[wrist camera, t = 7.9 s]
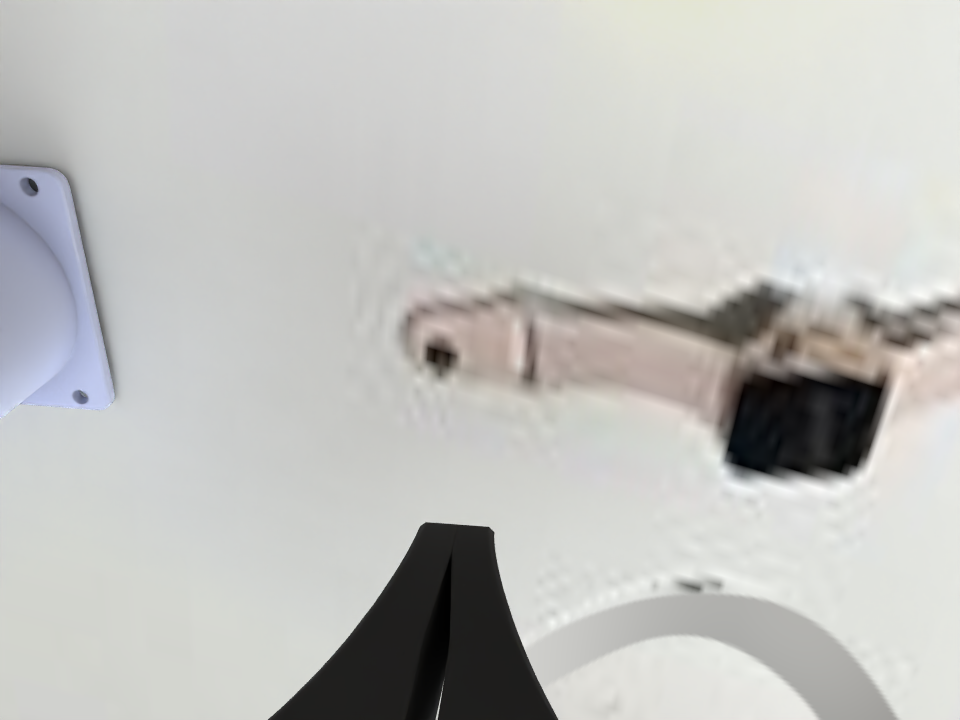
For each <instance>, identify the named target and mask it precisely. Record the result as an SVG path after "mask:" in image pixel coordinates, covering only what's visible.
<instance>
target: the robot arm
mask: <svg viewBox="0 0 960 720" xmlns="http://www.w3.org/2000/svg"><path fill="white" fill-rule="evenodd" d="M29 178H30V179H32V180H33V181H34V182H36V184H37V186H38V192H36V191H34V190H33V189H32V188H31V187H30V185H29ZM79 390H80V391H83V392H84V393H85V394H86V395H87V397H88V398H87V397H84V396H83V395H82V394H81V393H80V391H79ZM114 399H115V392H114V388H113V383H112V378H111V374H110V369H109V364H108V360H107V355H106V351H105V346H104V341H103V337H102V332H101V328H100V323H99V318H98V314H97V309H96V304H95V300H94V295H93V291H92V286H91V281H90V277H89V272H88V267H87V263H86V258H85V254H84V249H83V244H82V240H81V235H80V231H79V226H78V221H77V217H76V212H75V207H74V203H73V198H72V194H71V189H70V185H69V183H68V180H67V179H66V177H65V176H64V175H63V174H62V173H61V172H59V171H58V170H56V169H52V168H46V167H30V166H14V165H0V419H1V418H3V417H4V416H5V415H6V414H7V413H9V412H10V411H11V410H12V409H14V408H15V407H16V406H17V405H19V404H26V405H38V406H51V407H64V408H77V409H90V410H104V409H106V408H108V407H109V406H110V405H111V404H112V403H113V401H114ZM443 682H444V685H443ZM442 687H443V691H442ZM441 692H442V697H441V703H440V709H439V715H438V720H558V718H557V716H556V714H555V713H554V711H553V709H552V707H551V705H550V703H549V701H548V699H547V697H546V695H545V694H544V691H543V689H542V687H541V685H540V683H539V681H538V680H537V677H536V675H535V673H534V671H533V668H532V666H531V664H530V662H529V659H528V657H527V655H526V652H525V650H524V647H523V645H522V642H521V640H520V637H519V635H518V632H517V629H516V627H515V624H514V621H513V618H512V615H511V612H510V609H509V606H508V603H507V599H506V596H505V593H504V590H503V586H502V582H501V578H500V574H499V569H498V565H497V559H496V553H495V544H494V532H493V531H492V530H491V529H490V528H489V527H483V526H469V525H455V524H442V523H428V522H426V523H424V524H423V525H421V526H420V528H419V530H418V532H417V534H416V537H415V539H414V540H413V542H412V544H411V546H410V548H409V550H408V552H407V554H406V555H405V557H404V559H403V560H402V562H401V564H400V565H399V567H398V569H397V570H396V572H395V574H394V575H393V577H392V578H391V580H390V581H389V583H388V584H387V586H386V587H385V589H384V590H383V592H382V593H381V595H380V596H379V597H378V599H377V600H376V602H375V603H374V605H373V606H372V607H371V609H370V610H369V611H368V612H367V614H366V615H365V616H364V618H363V619H362V620H361V622H360V623H359V624H358V626H357V627H356V628H355V629H354V631H353V632H352V633H351V635H350V636H349V637H348V638H347V639H346V641H345V642H344V643H343V644H342V645H341V647H340V648H339V649H338V650H337V651H336V652H335V654H334V655H333V656H332V657H331V658H330V659H329V660H328V661H327V662H326V663H325V665H324V666H323V667H322V668H321V669H320V670H319V671H318V672H317V673H316V674H315V675H314V676H313V677H312V678H311V679H310V680H309V681H308V682H307V683H306V684H305V685H304V686H303V687H302V688H301V689H300V690H299V691H298V692H297V693H296V694H295V695H294V696H293V697H292V698H291V699H290V700H289V701H288V702H287V703H286V704H285V705H284V706H283V707H282V708H281V709H279V710H278V711H277V712H276V713H275V714H274V715H273V716H272V717H270V718H269V719H268V720H436V715H437V710H438V706H439V701H440V696H441Z"/></svg>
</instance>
